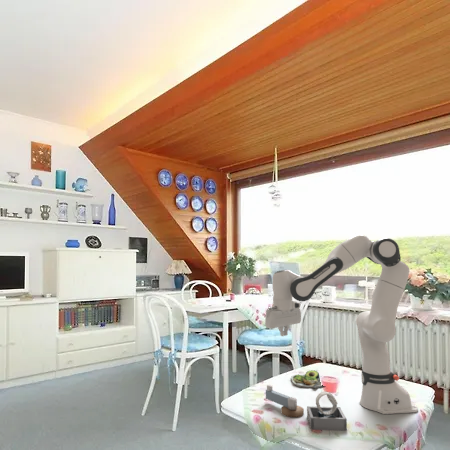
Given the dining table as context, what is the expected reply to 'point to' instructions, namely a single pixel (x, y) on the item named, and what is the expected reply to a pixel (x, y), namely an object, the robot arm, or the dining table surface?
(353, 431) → the dining table surface
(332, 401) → the watch
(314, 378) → the avocado toast plate
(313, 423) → the tray
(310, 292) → the robot arm
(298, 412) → the base
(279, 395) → the crank arm
